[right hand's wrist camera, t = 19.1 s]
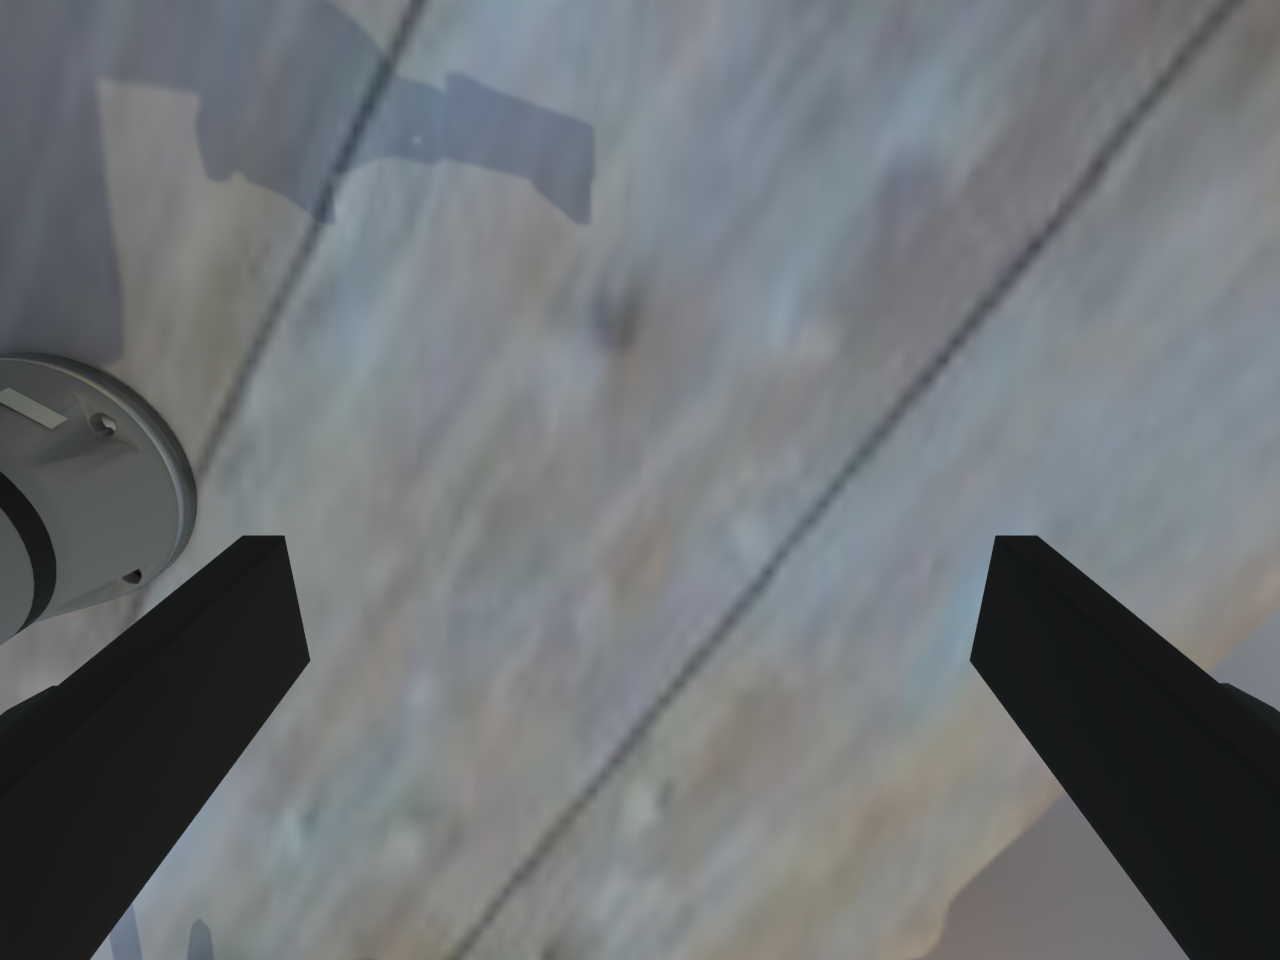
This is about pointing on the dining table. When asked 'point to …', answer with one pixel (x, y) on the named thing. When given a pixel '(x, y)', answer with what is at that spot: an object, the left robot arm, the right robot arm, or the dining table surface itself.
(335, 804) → the dining table surface
